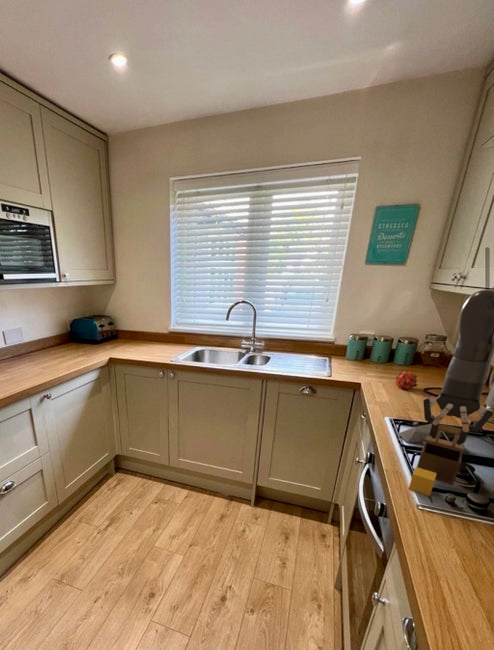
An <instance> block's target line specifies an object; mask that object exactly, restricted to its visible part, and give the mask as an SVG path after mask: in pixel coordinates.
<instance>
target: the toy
mask: <svg viewBox="0 0 494 650" xmlns="http://www.w3.org/2000/svg"><path fill="white" fill-rule="evenodd" d="M436 474H437V473H434V472H431V471H428V470H425V469H421V468H418V467H417V466H415V467H414V469H413V473H412V476H411V479H410V482H409V486H408V490H411V491H413V490H414V491H413V492H416V491H417V492H416V493H419V492H420V493H419V494H422V495H425V496H428V497H430V496H431V494H432V492H433V491H432V490H433V488H434V485H435V481H436V480H435V478H436Z"/></svg>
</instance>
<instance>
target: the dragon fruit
mask: <svg viewBox="0 0 494 650" xmlns="http://www.w3.org/2000/svg"><path fill="white" fill-rule="evenodd" d="M417 378H418V376H417V375H416V374H415V373H413V372H412V371H408V370H404V371H403V372H399V373H398V374H397V375H396V377H395V378H394V379H395V380H394V382H395V385H396V386H398V388H399V389H400V390H404V389H409V390H411V389H412V388H415V387H417V386H418V383H417V382H418V379H417Z"/></svg>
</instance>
